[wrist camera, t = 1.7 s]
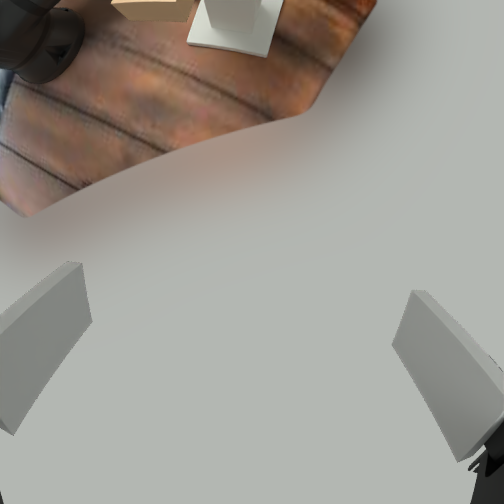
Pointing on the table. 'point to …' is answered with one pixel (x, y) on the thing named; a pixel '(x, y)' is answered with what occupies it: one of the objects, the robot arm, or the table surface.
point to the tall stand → (235, 25)
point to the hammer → (154, 9)
